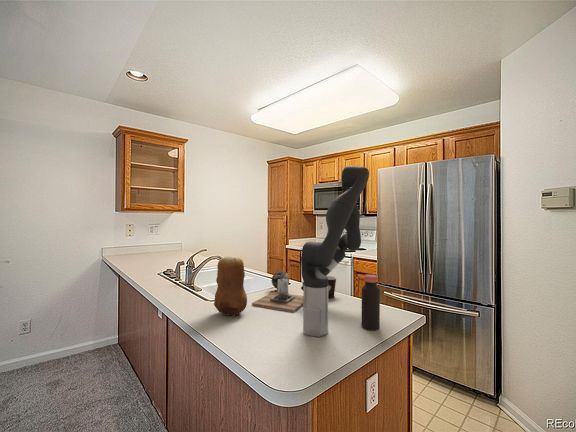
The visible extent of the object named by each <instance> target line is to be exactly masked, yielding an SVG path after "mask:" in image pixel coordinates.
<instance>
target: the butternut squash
mask: <svg viewBox="0 0 576 432" xmlns="http://www.w3.org/2000/svg"><path fill="white" fill-rule="evenodd" d="M216 268H217V274H216V279H215V281H216V284H217V288H216V291H215V294H214V303H213V306H214V308H216V310H217V311H218V312H219V313H221V314H222V315H228V316H229V315H230V317H234V316H237V315H238V314H241V313H242V312H244V310H245V309H246V308H247V305H248V296H247V293H246V291H245V287H244V283H245V282H244V280H245V277H246V276H245V275H246V274H245V264H244V260H243V259H242V258H240V257H232V256H224V257H222V258H220V259H219V260H218V262H217V267H216Z"/></svg>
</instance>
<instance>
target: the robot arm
mask: <svg viewBox="0 0 576 432" xmlns="http://www.w3.org/2000/svg"><path fill="white" fill-rule="evenodd" d="M369 177H370V170H369V169H368V167H365V166H356V165H355V166H354V165H345V166H344V167H343V169H342V172H341V179H340V180H341V181H340V182H341V189H342V191H341V192H342V193H341V194H340V195H338V196H336V197H335V198H334V199H333V200H332V201H331V203H330V205H329V207H328V209H326V210H327V211H326V213H325V222H326V226H327V233H326V236H325V238H324V239H323V241H321V242H320V241H306V242H305V243H304V244H303V246H302V248H301V254H300V261H301V262H300V263H301V265H300V267H301V279H302V280H303V282H302V283H301V284H302V286H301V287H300V289H301V290H302V292H303V295H302V296H303V306H302V307H303V308H302V309H303V311H302V319H303V320H302V324H303V325H302V326H303V327H302V330H303V335H306V336H312V337H317V338H320V337H322V336H325V335H327V334H329V333H328V332H329V298H328V278H327V277H326V276H329V274H331V272H333V270H334V269H335V268H336V267H337V266H338V265H339V264H340V263H341V262H342V261H343V260H344V259H345V258H346V251H347V249H348V250H349V251H351V252H356V251H358V250H359V249H360V247H361V245H362V244H361V243H362V236H361V229H360V219H361V213H360V209H359V207H358V205H357V201H358V199H359V198H360V196H361V194H362V193H363V191H364V189H365V187H366V186H367V184H368V181H369ZM344 230H345V233H343V232H344Z"/></svg>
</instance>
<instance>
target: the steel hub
mask: <svg viewBox="0 0 576 432" xmlns="http://www.w3.org/2000/svg"><path fill="white" fill-rule="evenodd" d="M288 294H289V283H288V279H278V299H280V300H288Z"/></svg>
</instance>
